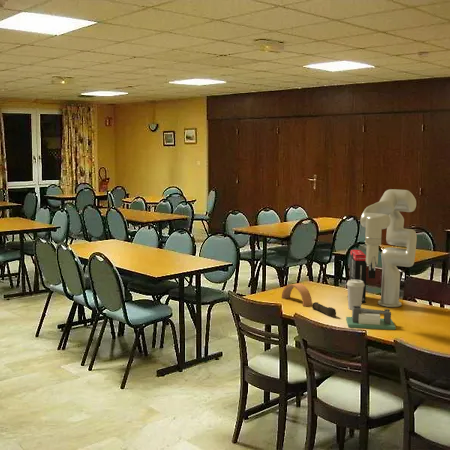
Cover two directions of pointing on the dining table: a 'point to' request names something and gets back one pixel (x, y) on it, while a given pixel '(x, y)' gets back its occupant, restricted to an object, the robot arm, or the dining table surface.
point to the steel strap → (372, 310)
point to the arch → (303, 291)
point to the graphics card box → (358, 268)
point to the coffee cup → (355, 293)
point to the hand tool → (324, 309)
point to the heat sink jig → (369, 320)
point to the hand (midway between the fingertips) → (371, 277)
